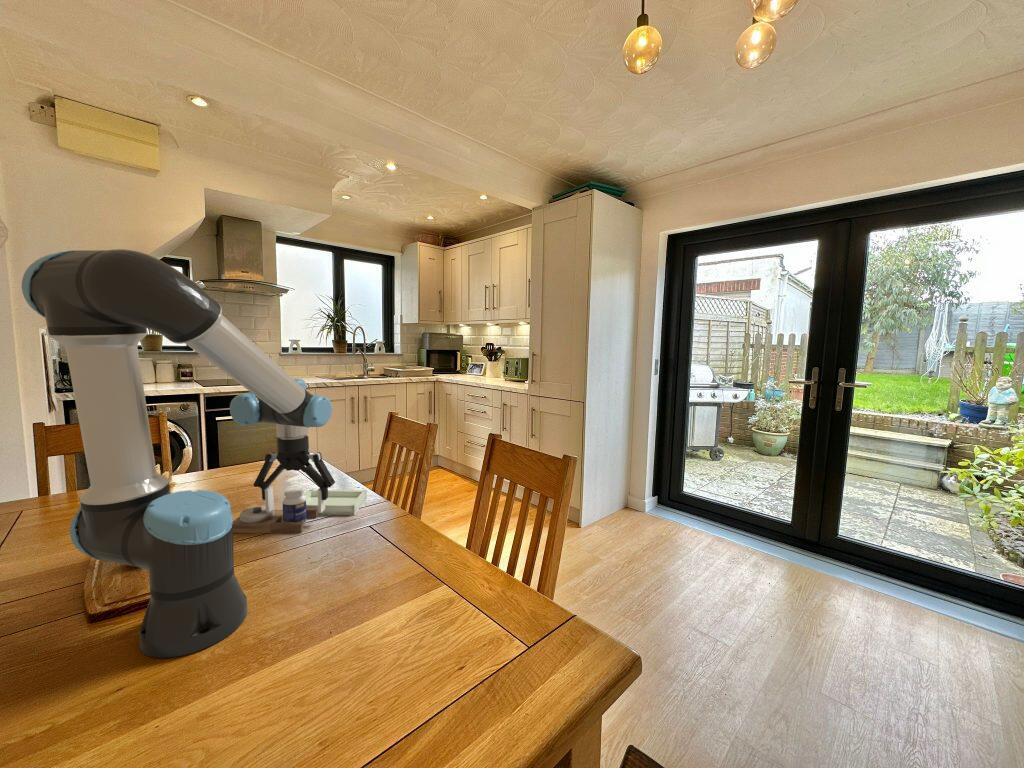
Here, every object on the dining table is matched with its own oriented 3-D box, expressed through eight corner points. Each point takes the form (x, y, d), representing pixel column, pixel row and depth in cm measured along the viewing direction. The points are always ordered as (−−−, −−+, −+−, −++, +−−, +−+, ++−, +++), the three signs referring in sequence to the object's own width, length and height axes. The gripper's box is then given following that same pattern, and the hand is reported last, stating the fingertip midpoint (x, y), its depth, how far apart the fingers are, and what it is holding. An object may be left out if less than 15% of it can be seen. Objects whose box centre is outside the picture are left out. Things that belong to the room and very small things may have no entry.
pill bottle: (299, 529, 109) (298, 494, 108) (278, 529, 109) (277, 493, 108) (310, 520, 115) (309, 486, 114) (290, 519, 115) (289, 485, 114)
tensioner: (301, 533, 107) (300, 516, 107) (227, 532, 106) (226, 515, 106) (317, 516, 117) (317, 501, 117) (250, 516, 116) (249, 500, 116)
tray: (354, 515, 119) (353, 505, 118) (291, 515, 118) (290, 505, 118) (366, 499, 131) (366, 490, 130) (309, 498, 130) (309, 489, 129)
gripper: (345, 433, 114) (347, 505, 116) (252, 432, 113) (256, 505, 115) (335, 440, 106) (337, 516, 109) (235, 439, 105) (240, 516, 108)
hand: (296, 511), depth 112 cm, fingers open, 13 cm apart
